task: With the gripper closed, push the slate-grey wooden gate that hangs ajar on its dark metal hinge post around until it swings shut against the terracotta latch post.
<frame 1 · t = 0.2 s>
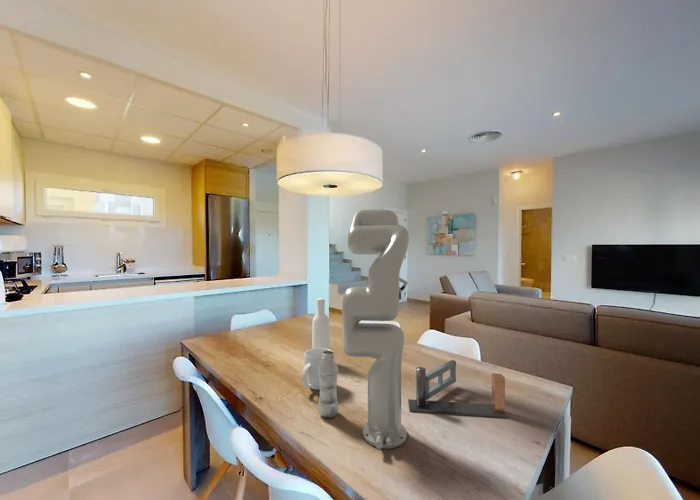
hand: (387, 300, 129), 31 cm above the table, tool pointing down, fingers open, 9 cm apart
bottle: (320, 363, 138), on the table
mug: (317, 387, 114), on the table
plastic bottle: (328, 415, 95), on the table
gate frame: (455, 409, 98), on the table
gate: (440, 378, 107), point 6 cm above the table, hinge at 50.0°
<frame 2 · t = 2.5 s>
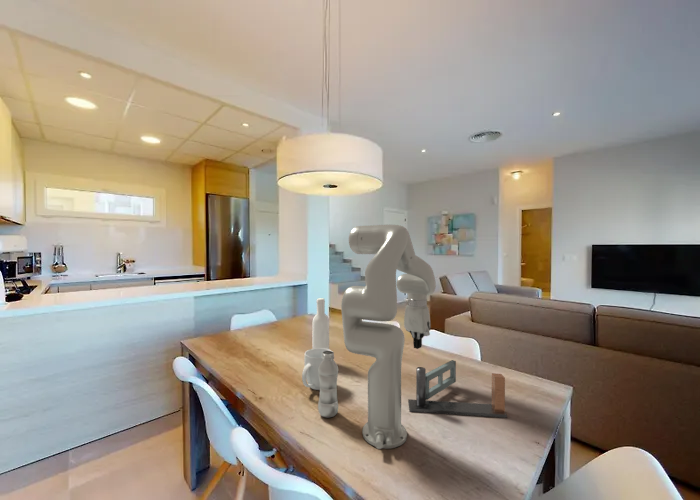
hand: (417, 347, 121), 13 cm above the table, tool pointing down, fingers closed
nothing on the table moved.
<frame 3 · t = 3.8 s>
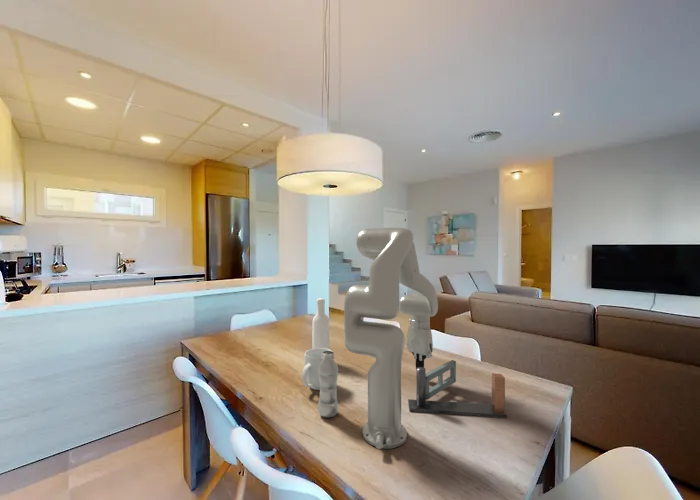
hand: (419, 369, 119), 5 cm above the table, tool pointing down, fingers closed
nothing on the table moved.
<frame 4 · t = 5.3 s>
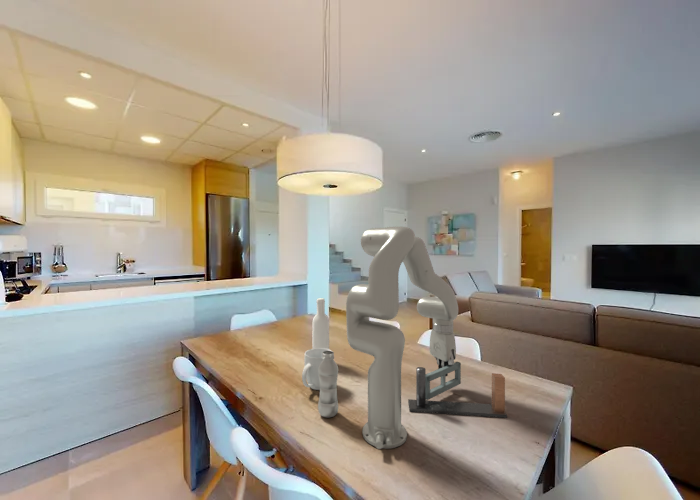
hand: (443, 375, 113), 5 cm above the table, tool pointing down, fingers closed
gate: (443, 379, 106), point 6 cm above the table, hinge at 44.7°, touching gripper
everything else where it was.
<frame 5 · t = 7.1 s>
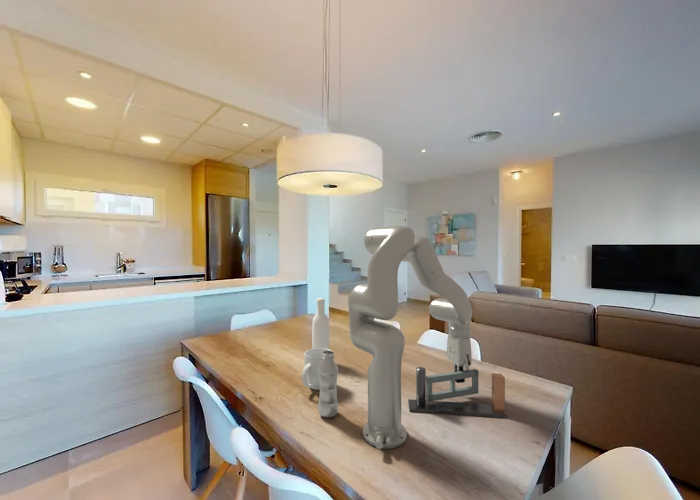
hand: (459, 381, 108), 5 cm above the table, tool pointing down, fingers closed
gate: (452, 384, 102), point 6 cm above the table, hinge at 23.4°, touching gripper
everything else where it was.
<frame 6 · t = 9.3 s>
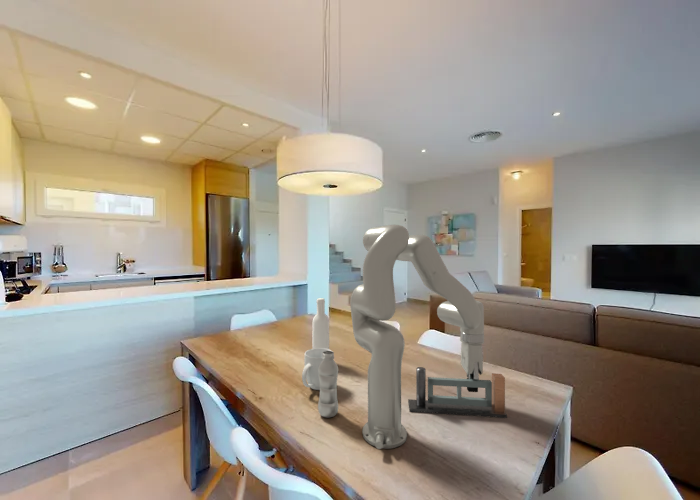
hand: (472, 390, 101), 5 cm above the table, tool pointing down, fingers closed
gate: (459, 391, 97), point 6 cm above the table, hinge at 0.3°, touching gripper
everything else where it was.
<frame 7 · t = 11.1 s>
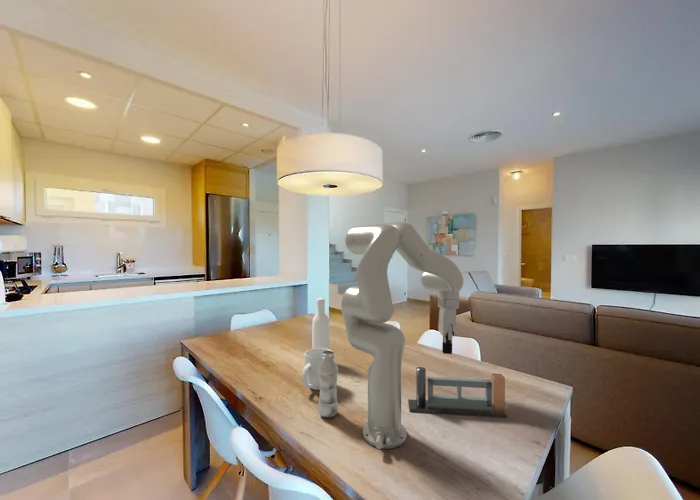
hand: (447, 353, 109), 15 cm above the table, tool pointing down, fingers closed
gate: (459, 391, 97), point 6 cm above the table, hinge at 0.0°
everything else where it was.
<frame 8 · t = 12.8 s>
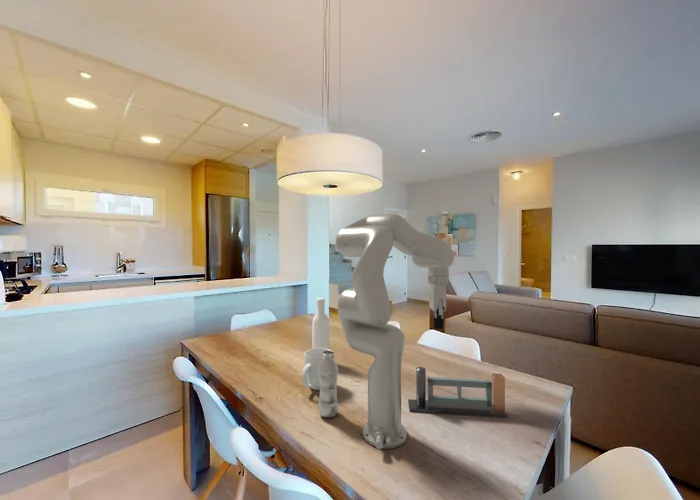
hand: (438, 328, 112), 23 cm above the table, tool pointing down, fingers closed
nothing on the table moved.
at the end: gate at +0° (first picture: +50°) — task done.
